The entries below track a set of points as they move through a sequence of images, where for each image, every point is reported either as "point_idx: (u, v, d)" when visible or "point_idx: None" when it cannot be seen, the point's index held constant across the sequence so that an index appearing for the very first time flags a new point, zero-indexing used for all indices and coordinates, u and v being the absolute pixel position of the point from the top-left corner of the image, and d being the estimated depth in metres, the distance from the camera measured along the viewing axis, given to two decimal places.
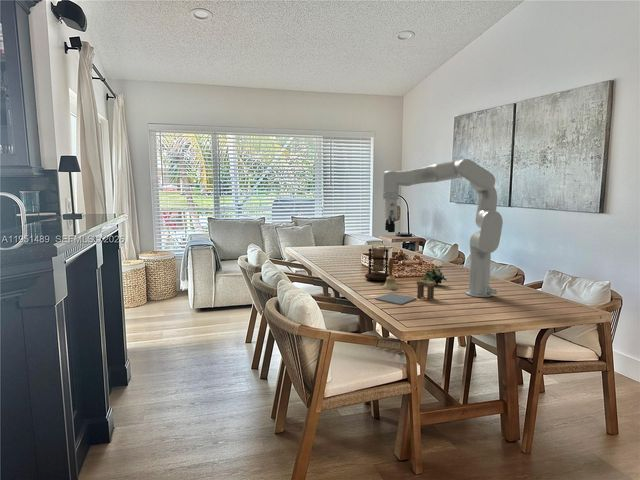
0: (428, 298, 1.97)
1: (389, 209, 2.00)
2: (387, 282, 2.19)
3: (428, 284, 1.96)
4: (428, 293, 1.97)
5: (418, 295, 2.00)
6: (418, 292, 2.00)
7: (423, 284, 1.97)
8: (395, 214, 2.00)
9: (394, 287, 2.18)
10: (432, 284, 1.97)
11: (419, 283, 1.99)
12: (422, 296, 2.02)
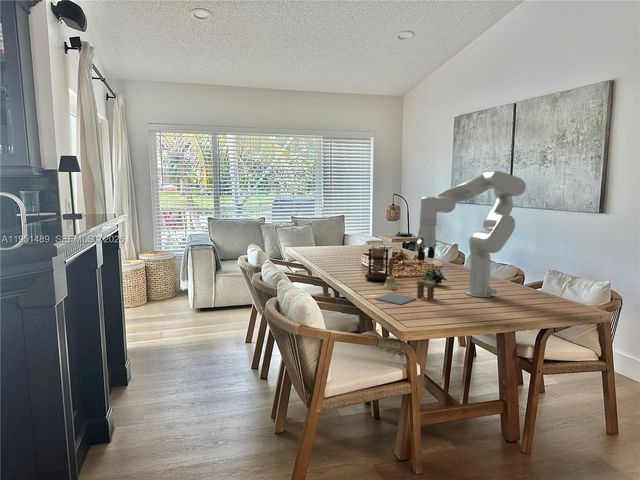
0: (428, 298, 1.97)
1: None
2: (387, 282, 2.19)
3: (428, 284, 1.96)
4: (428, 293, 1.97)
5: (418, 295, 2.00)
6: (418, 292, 2.00)
7: (423, 284, 1.97)
8: None
9: (394, 287, 2.18)
10: (432, 284, 1.97)
11: (419, 283, 1.99)
12: (422, 296, 2.02)
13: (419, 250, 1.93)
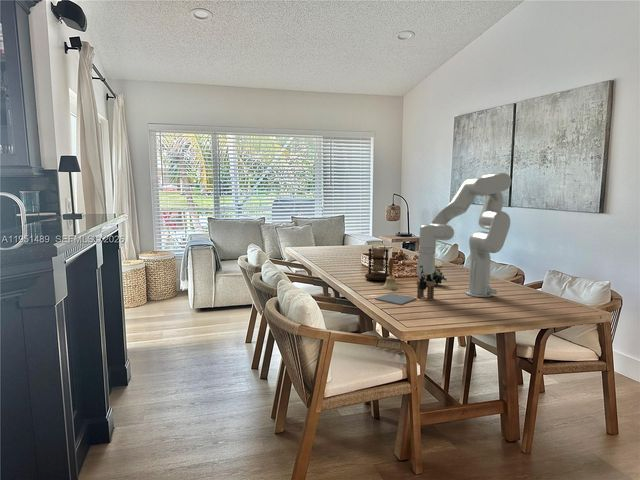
0: (428, 298, 1.97)
1: None
2: (387, 282, 2.19)
3: (428, 284, 1.96)
4: (428, 293, 1.97)
5: (418, 295, 2.00)
6: (418, 292, 2.00)
7: None
8: None
9: (394, 287, 2.18)
10: (432, 284, 1.97)
11: (419, 283, 1.99)
12: (422, 296, 2.02)
13: (421, 280, 1.96)
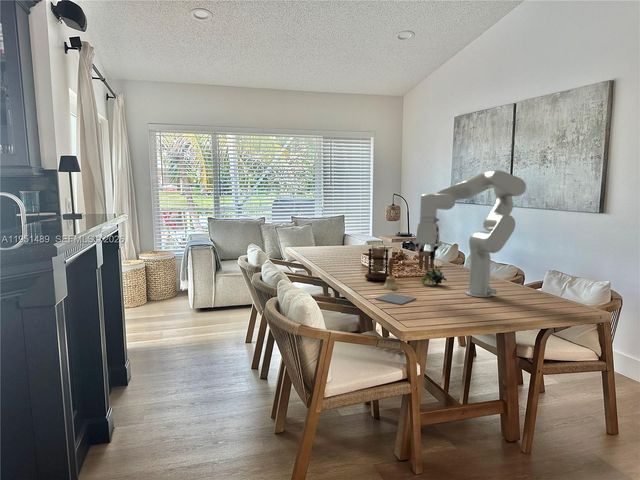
0: None
1: (436, 234, 1.92)
2: (387, 282, 2.19)
3: None
4: None
5: None
6: None
7: None
8: (439, 239, 1.95)
9: (394, 287, 2.18)
10: (423, 254, 1.95)
11: None
12: None
13: None
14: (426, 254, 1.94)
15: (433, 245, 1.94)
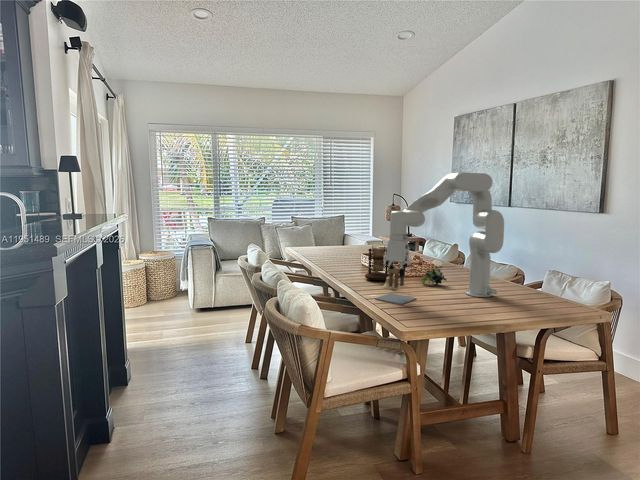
0: None
1: (405, 252, 1.90)
2: (387, 282, 2.19)
3: None
4: None
5: None
6: None
7: None
8: (408, 256, 1.93)
9: (394, 287, 2.18)
10: (392, 271, 1.93)
11: None
12: (400, 284, 1.97)
13: None
14: (395, 272, 1.92)
15: (402, 263, 1.92)
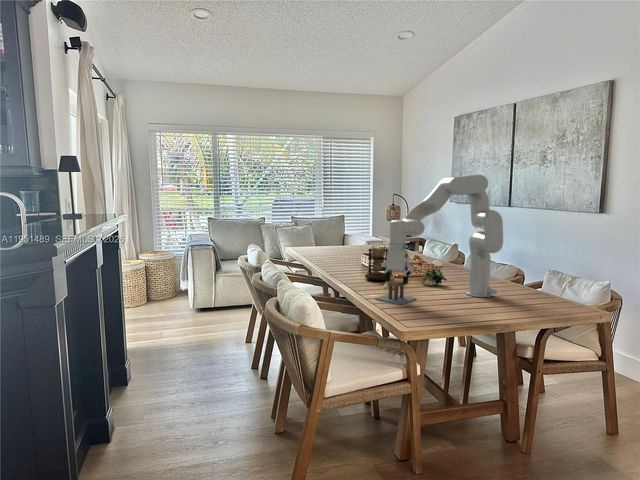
0: None
1: (404, 261, 1.91)
2: (387, 282, 2.19)
3: None
4: None
5: None
6: None
7: None
8: None
9: None
10: (392, 284, 1.94)
11: None
12: None
13: None
14: (395, 284, 1.93)
15: (404, 270, 1.92)
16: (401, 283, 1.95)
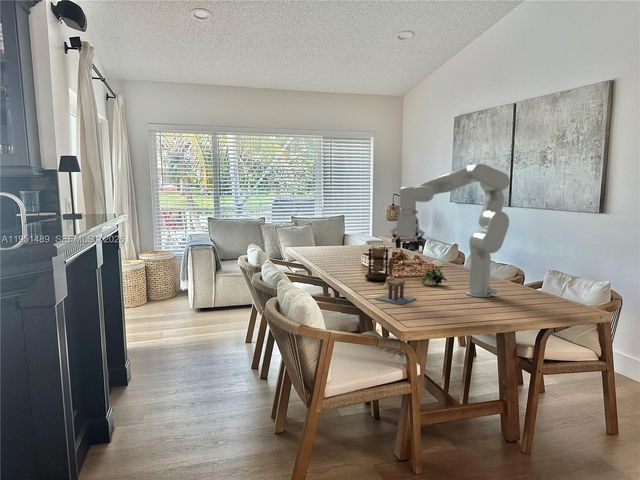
0: None
1: (415, 226, 1.94)
2: (387, 282, 2.19)
3: None
4: None
5: None
6: None
7: None
8: None
9: None
10: (392, 284, 1.94)
11: None
12: None
13: None
14: (395, 284, 1.93)
15: (415, 235, 1.95)
16: (401, 283, 1.95)
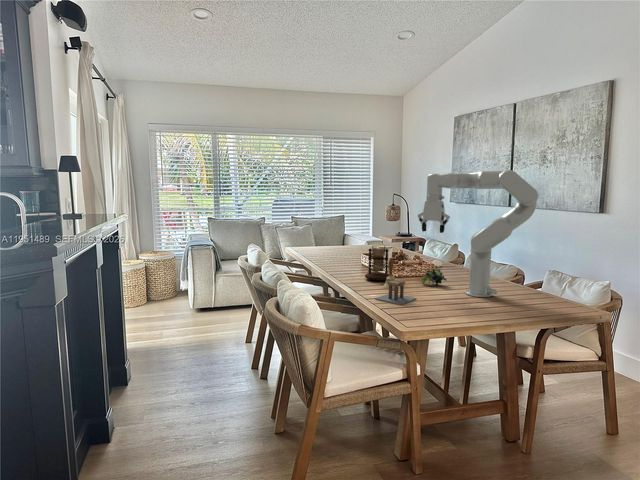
0: None
1: (441, 211, 2.08)
2: (387, 282, 2.19)
3: None
4: None
5: None
6: None
7: None
8: None
9: None
10: (392, 284, 1.94)
11: None
12: None
13: None
14: (395, 284, 1.93)
15: (441, 219, 2.09)
16: (401, 283, 1.95)
